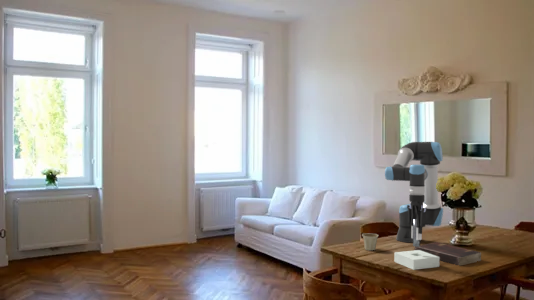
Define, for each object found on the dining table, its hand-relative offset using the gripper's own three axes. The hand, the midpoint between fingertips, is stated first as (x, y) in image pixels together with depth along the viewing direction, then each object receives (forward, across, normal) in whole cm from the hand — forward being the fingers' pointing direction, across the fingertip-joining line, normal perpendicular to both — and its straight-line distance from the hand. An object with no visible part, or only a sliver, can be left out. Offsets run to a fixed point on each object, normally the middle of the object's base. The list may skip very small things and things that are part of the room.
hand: (416, 238), depth 244 cm
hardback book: (+14, -6, +25) cm, 30 cm away
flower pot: (+13, -36, -5) cm, 39 cm away
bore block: (+13, 0, 0) cm, 13 cm away
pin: (+4, 0, 0) cm, 4 cm away
